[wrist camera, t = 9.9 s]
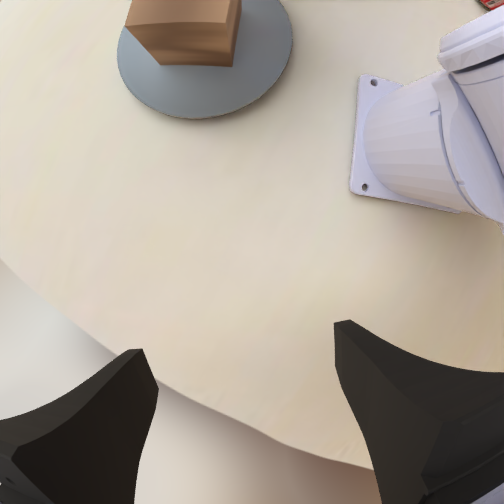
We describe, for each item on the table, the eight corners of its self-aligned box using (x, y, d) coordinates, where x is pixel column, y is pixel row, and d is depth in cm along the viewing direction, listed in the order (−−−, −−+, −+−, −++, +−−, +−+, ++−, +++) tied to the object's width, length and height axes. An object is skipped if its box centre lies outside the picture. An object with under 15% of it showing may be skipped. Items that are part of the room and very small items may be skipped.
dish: (294, -13, 14) (297, -20, 13) (282, 127, 17) (284, 124, 16) (140, -14, 14) (136, -21, 13) (111, 120, 17) (104, 118, 16)
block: (241, 9, 14) (240, -46, 8) (232, 67, 15) (225, 22, 9) (172, 8, 14) (147, -42, 8) (160, 65, 15) (124, 26, 9)
